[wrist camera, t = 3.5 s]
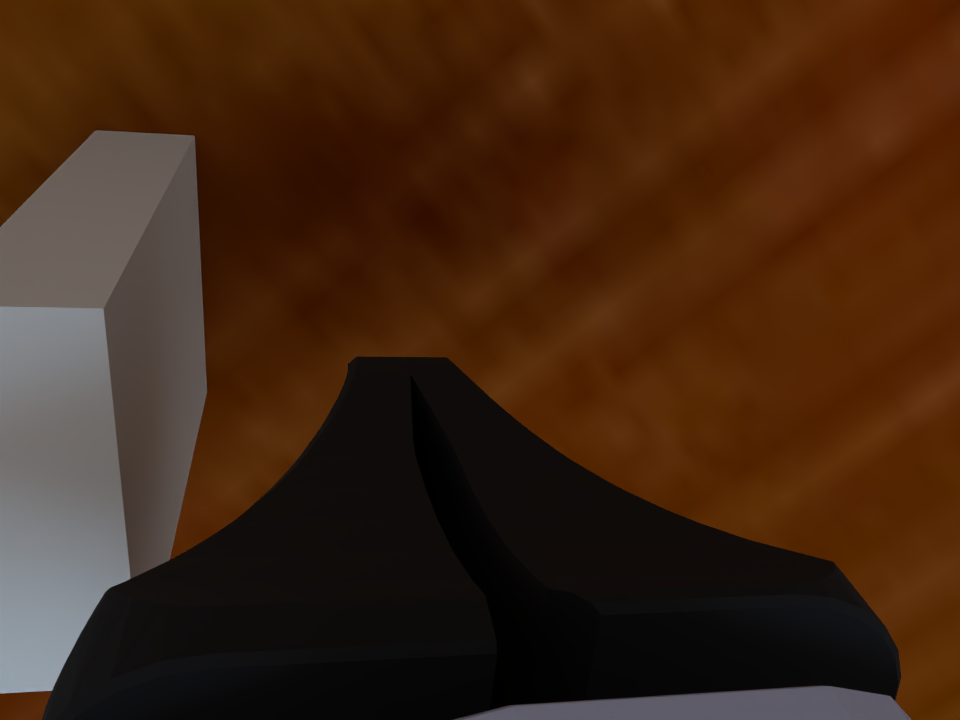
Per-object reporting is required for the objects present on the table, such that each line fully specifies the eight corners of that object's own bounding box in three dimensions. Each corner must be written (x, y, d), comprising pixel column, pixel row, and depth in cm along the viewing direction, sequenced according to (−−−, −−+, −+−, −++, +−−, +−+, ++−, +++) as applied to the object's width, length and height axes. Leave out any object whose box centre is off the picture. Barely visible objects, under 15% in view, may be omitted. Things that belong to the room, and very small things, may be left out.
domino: (120, 391, 17) (-1, 693, 11) (95, 130, 15) (-78, 305, 8) (206, 391, 17) (141, 685, 11) (194, 135, 15) (103, 308, 9)
